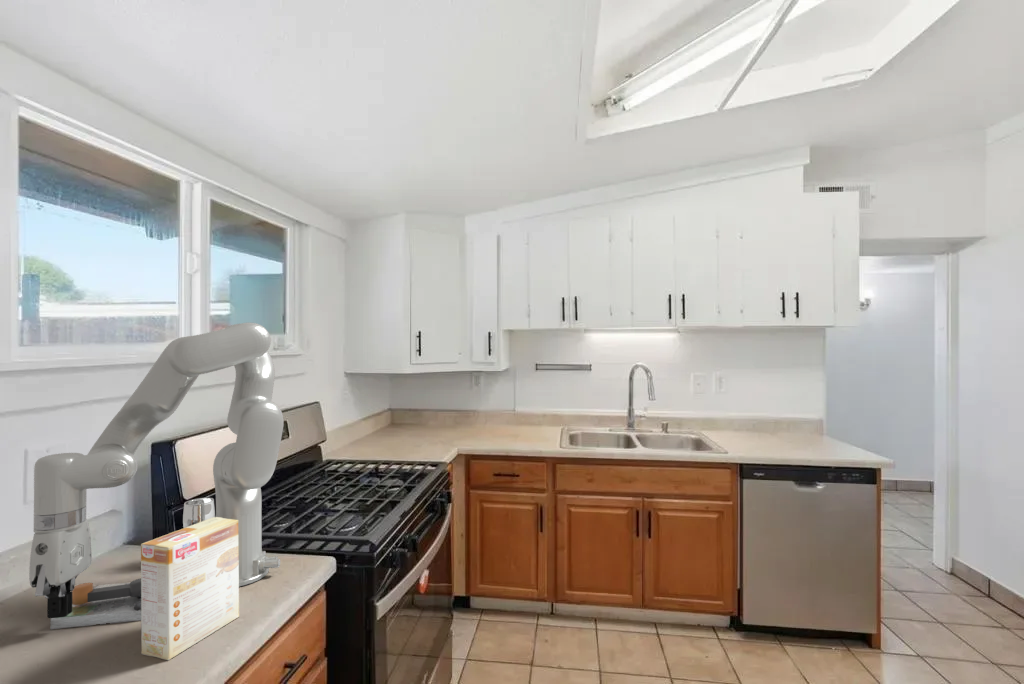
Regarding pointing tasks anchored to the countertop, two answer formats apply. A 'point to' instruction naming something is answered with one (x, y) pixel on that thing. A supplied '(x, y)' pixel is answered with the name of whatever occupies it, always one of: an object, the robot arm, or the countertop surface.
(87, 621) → the panel
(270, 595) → the countertop surface
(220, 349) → the robot arm
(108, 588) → the breaker lever
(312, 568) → the countertop surface
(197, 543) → the coffeecake box
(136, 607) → the cord bundle
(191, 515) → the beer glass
